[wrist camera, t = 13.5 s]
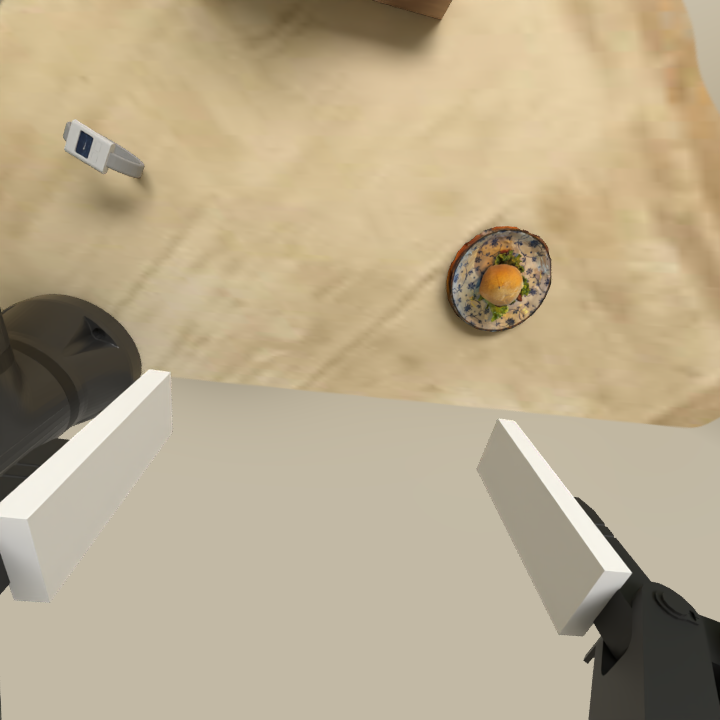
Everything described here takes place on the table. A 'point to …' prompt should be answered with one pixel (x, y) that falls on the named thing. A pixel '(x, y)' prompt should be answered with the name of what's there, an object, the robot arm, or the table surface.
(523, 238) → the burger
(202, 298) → the table surface
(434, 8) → the rectangular wooden frame
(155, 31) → the table surface
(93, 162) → the wristwatch
